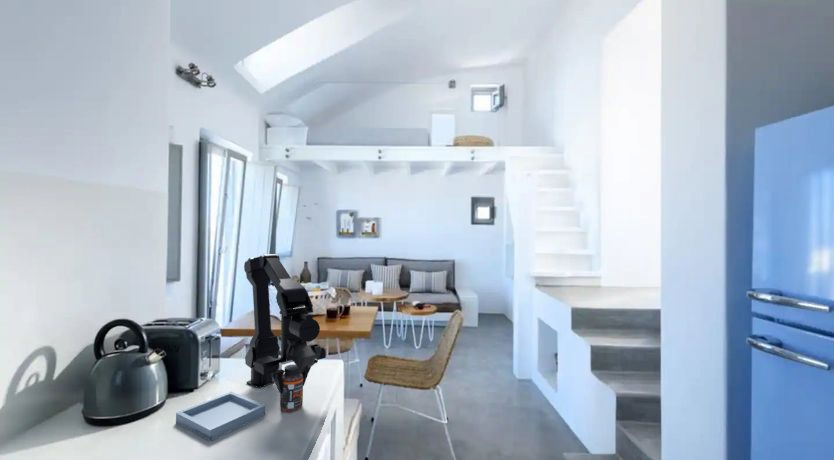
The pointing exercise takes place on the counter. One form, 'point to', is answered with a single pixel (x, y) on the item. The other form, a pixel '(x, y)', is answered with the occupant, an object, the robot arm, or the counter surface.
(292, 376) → the supplement bottle
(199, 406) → the tray
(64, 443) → the counter surface
